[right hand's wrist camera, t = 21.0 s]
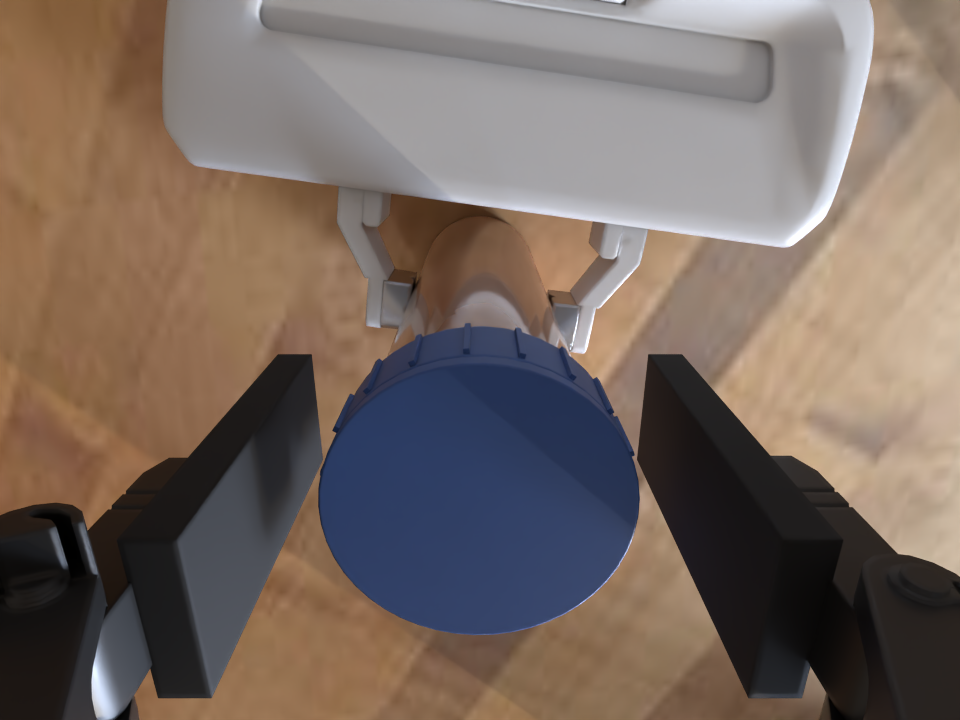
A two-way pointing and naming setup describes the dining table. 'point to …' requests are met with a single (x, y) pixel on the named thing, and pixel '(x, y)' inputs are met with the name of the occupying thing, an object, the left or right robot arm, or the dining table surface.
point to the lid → (479, 483)
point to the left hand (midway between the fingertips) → (477, 335)
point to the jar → (479, 285)
